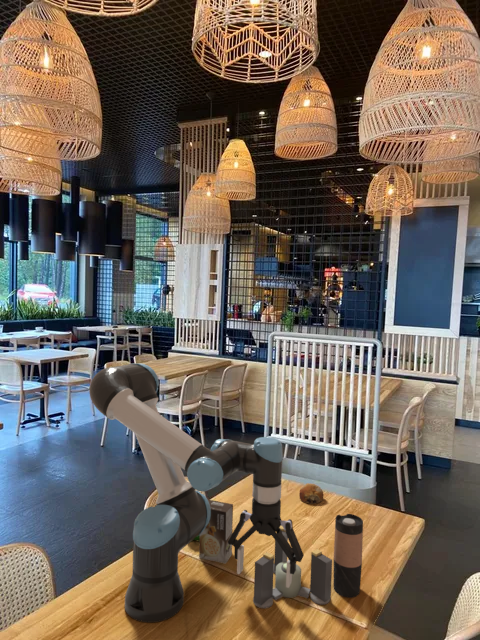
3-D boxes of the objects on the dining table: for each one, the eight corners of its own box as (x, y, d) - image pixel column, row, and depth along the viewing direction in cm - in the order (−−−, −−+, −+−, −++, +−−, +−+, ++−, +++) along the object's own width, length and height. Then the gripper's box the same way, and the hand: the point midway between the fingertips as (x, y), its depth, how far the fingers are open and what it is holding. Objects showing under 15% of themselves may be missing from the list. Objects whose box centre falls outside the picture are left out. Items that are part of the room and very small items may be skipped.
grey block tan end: (286, 577, 128) (287, 536, 128) (269, 572, 130) (270, 532, 130) (291, 567, 133) (292, 528, 133) (274, 563, 135) (276, 524, 135)
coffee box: (232, 554, 140) (234, 503, 139) (225, 564, 134) (227, 512, 133) (206, 547, 143) (207, 498, 143) (197, 558, 137) (199, 506, 137)
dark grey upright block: (265, 611, 113) (266, 565, 113) (249, 602, 117) (250, 557, 116) (276, 601, 117) (278, 557, 117) (261, 592, 121) (262, 549, 120)
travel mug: (355, 602, 118) (358, 529, 118) (328, 592, 122) (331, 521, 122) (364, 588, 125) (366, 518, 124) (337, 578, 129) (340, 510, 128)
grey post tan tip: (334, 599, 119) (335, 556, 118) (320, 607, 116) (322, 562, 115) (319, 589, 123) (320, 547, 123) (306, 596, 120) (307, 553, 119)
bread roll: (324, 508, 183) (328, 488, 185) (316, 505, 175) (320, 484, 177) (302, 502, 188) (306, 482, 191) (293, 499, 180) (298, 479, 183)
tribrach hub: (274, 605, 116) (274, 580, 116) (259, 580, 127) (260, 557, 126) (313, 598, 120) (314, 573, 119) (296, 574, 130) (297, 551, 130)
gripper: (316, 501, 115) (313, 582, 116) (228, 484, 124) (226, 559, 125) (310, 513, 108) (306, 599, 109) (217, 494, 117) (215, 573, 118)
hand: (263, 577), depth 117 cm, fingers open, 13 cm apart
